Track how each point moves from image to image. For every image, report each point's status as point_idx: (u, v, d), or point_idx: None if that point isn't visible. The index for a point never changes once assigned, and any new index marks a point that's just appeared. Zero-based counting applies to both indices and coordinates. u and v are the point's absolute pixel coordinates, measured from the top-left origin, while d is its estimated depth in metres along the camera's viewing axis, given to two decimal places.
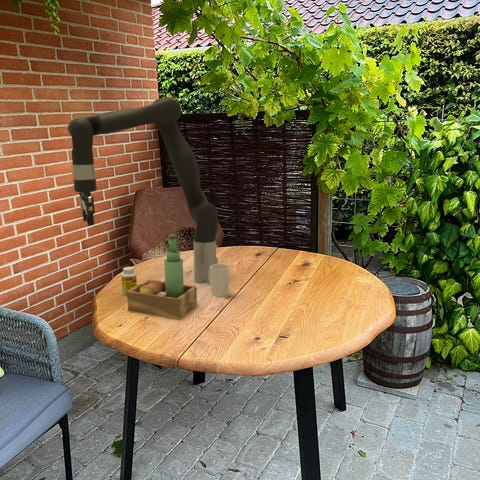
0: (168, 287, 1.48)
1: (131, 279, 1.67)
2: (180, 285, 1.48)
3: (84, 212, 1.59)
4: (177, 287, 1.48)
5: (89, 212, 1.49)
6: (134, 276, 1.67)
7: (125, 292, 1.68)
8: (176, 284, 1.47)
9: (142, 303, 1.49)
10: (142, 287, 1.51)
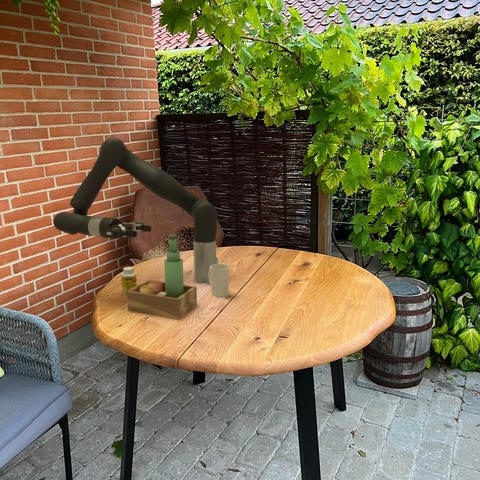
0: (168, 287, 1.48)
1: (131, 279, 1.67)
2: (180, 285, 1.48)
3: (142, 229, 1.54)
4: (177, 287, 1.48)
5: (118, 236, 1.45)
6: (134, 276, 1.67)
7: (125, 292, 1.68)
8: (176, 284, 1.47)
9: (142, 303, 1.49)
10: (142, 287, 1.51)
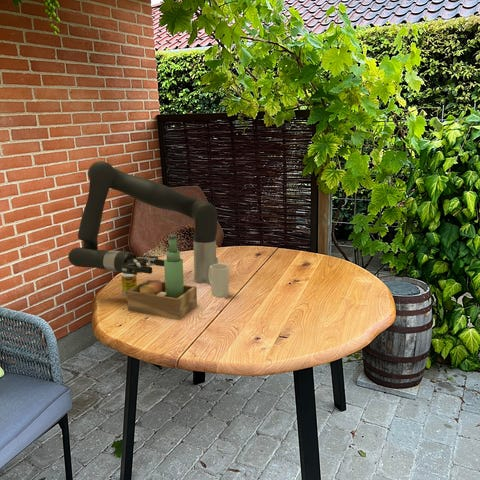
0: (168, 287, 1.48)
1: (131, 279, 1.67)
2: (180, 285, 1.48)
3: (156, 264, 1.56)
4: (177, 287, 1.48)
5: (134, 272, 1.46)
6: (134, 276, 1.67)
7: (125, 292, 1.68)
8: (176, 284, 1.47)
9: (142, 303, 1.49)
10: (142, 287, 1.51)
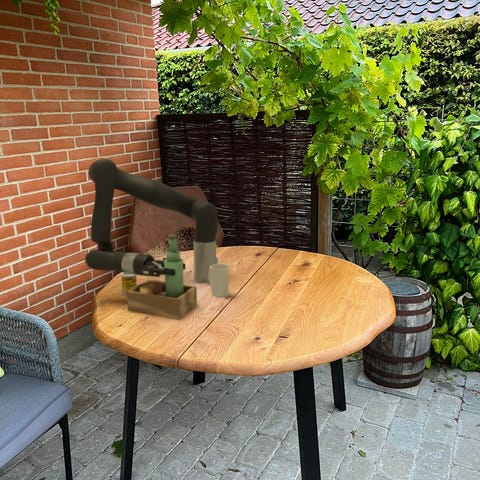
0: (168, 287, 1.48)
1: (131, 279, 1.67)
2: (180, 285, 1.48)
3: None
4: (177, 287, 1.47)
5: (157, 274, 1.44)
6: (134, 276, 1.67)
7: (125, 292, 1.68)
8: (176, 284, 1.47)
9: (142, 303, 1.49)
10: (142, 287, 1.51)
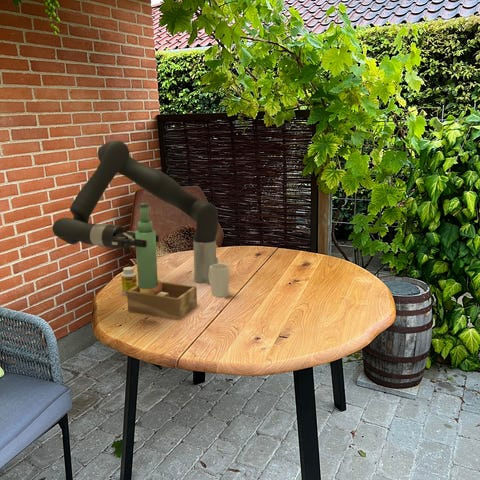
0: (139, 260, 1.36)
1: (131, 279, 1.67)
2: (152, 258, 1.37)
3: None
4: (149, 260, 1.36)
5: (126, 246, 1.33)
6: (134, 276, 1.67)
7: (125, 292, 1.68)
8: (148, 257, 1.36)
9: (142, 303, 1.49)
10: None
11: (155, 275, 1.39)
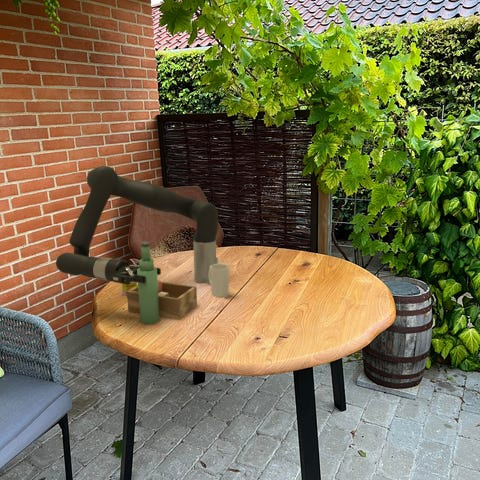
0: (141, 297, 1.40)
1: None
2: (153, 295, 1.40)
3: None
4: (151, 297, 1.39)
5: (126, 282, 1.35)
6: None
7: (125, 292, 1.68)
8: (150, 294, 1.39)
9: None
10: None
11: (157, 311, 1.42)
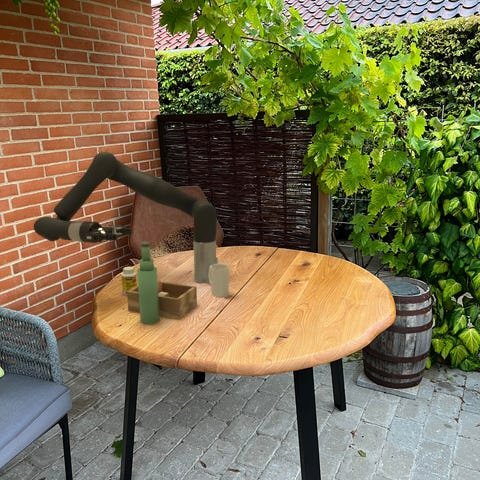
0: (141, 297, 1.40)
1: (131, 279, 1.67)
2: (154, 295, 1.40)
3: (122, 232, 1.55)
4: (151, 297, 1.40)
5: (98, 240, 1.45)
6: (134, 276, 1.67)
7: (125, 292, 1.68)
8: (150, 294, 1.39)
9: None
10: None
11: (157, 311, 1.42)
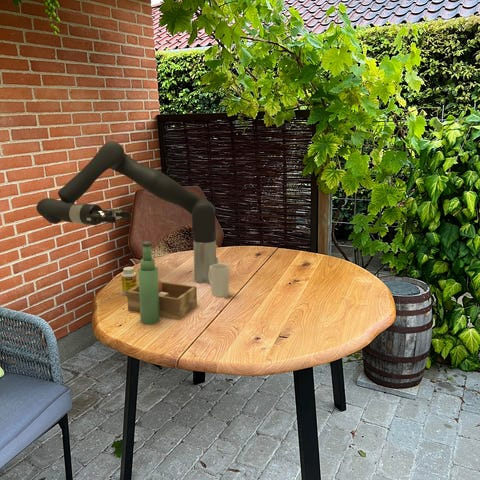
0: (142, 297, 1.40)
1: (131, 279, 1.67)
2: (154, 295, 1.40)
3: (122, 216, 1.58)
4: (152, 297, 1.40)
5: (98, 221, 1.49)
6: (134, 276, 1.67)
7: (125, 292, 1.68)
8: (151, 294, 1.39)
9: None
10: None
11: (157, 311, 1.42)
